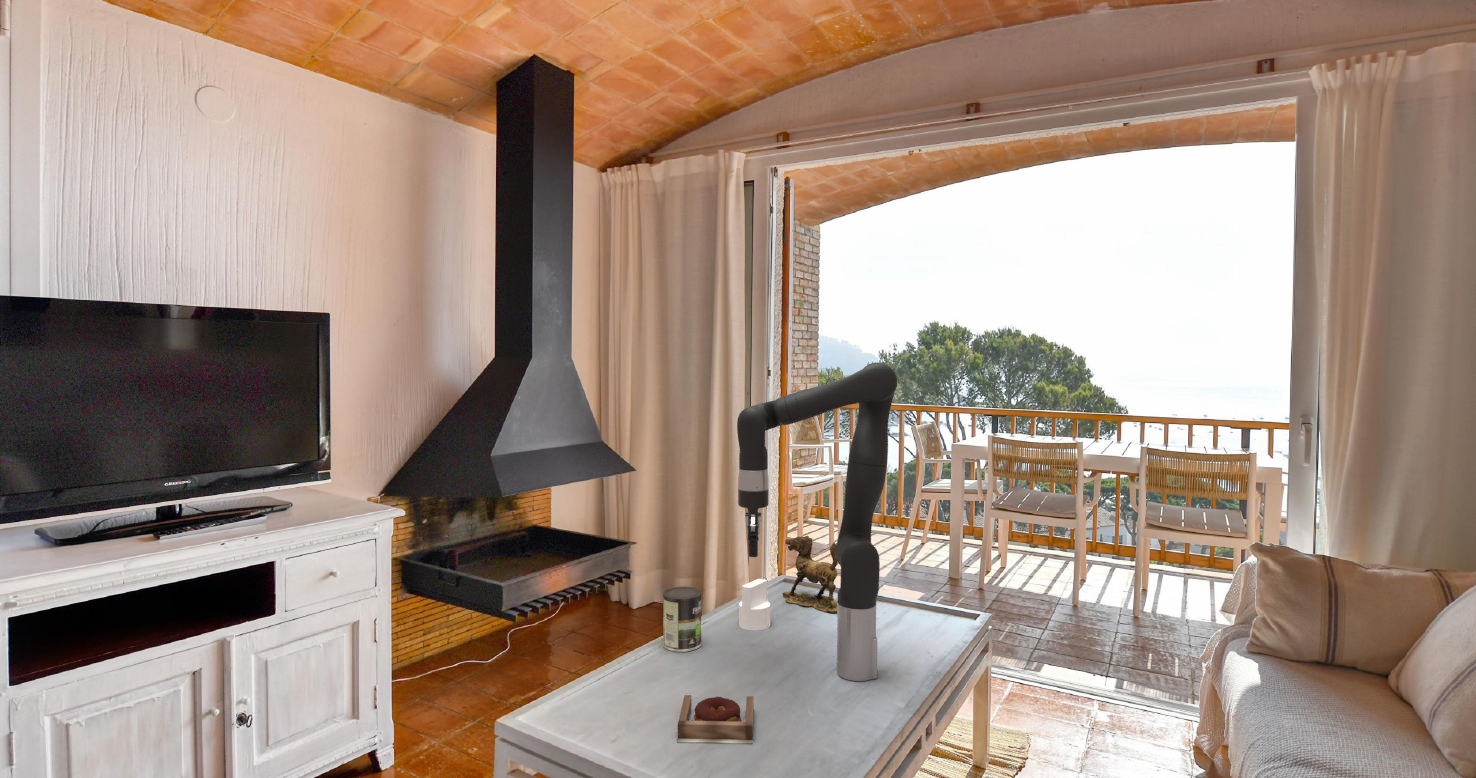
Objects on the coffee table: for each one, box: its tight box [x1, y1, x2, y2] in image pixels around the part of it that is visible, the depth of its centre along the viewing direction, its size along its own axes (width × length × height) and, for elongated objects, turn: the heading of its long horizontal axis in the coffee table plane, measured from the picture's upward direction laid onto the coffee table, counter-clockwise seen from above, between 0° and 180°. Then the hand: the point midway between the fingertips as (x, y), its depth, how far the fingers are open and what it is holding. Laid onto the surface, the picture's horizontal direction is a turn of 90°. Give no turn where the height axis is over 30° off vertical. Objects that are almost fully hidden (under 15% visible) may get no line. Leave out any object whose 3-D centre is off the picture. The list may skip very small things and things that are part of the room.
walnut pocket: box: [676, 694, 755, 745], centre depth 151 cm, size 15×14×3 cm
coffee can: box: [662, 586, 703, 653], centre depth 193 cm, size 10×10×14 cm
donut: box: [693, 696, 741, 722], centre depth 153 cm, size 10×10×4 cm
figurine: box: [782, 535, 839, 615], centre depth 225 cm, size 13×25×20 cm, turn 42°
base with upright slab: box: [738, 578, 771, 632], centre depth 208 cm, size 9×9×12 cm
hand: (753, 556), depth 181 cm, fingers closed
